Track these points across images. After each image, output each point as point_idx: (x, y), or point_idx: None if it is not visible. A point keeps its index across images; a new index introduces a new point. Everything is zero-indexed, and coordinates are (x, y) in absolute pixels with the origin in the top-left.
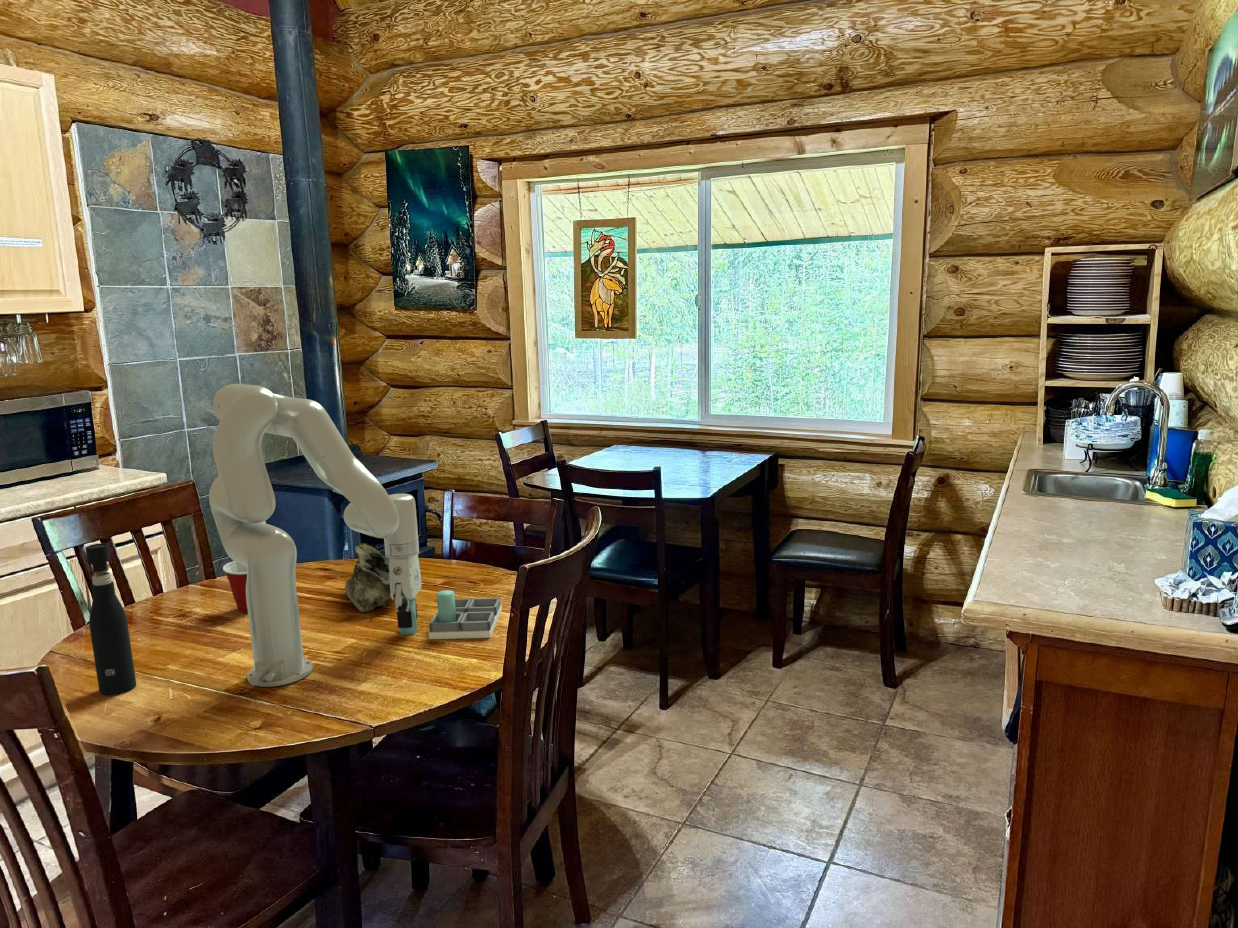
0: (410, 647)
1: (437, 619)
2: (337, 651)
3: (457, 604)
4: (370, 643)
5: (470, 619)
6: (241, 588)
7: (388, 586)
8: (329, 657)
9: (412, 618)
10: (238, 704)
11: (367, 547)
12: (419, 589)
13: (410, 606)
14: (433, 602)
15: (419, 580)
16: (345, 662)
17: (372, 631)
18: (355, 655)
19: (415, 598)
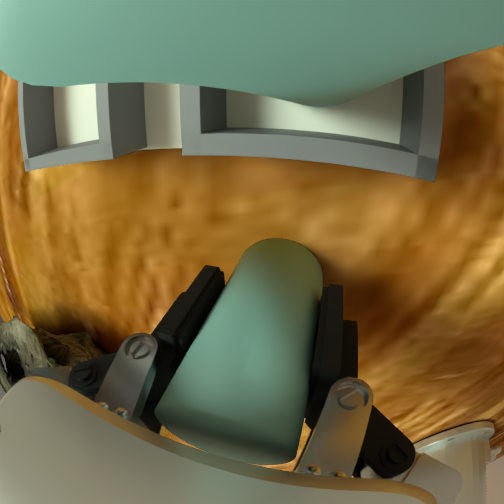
0: (479, 250)
1: (239, 129)
2: (392, 419)
3: (43, 102)
4: (372, 378)
5: None
6: None
7: (47, 352)
8: (420, 421)
9: (301, 309)
10: (500, 437)
11: (2, 378)
12: (91, 421)
13: (293, 393)
14: (34, 219)
15: (27, 471)
16: (470, 394)
17: None
18: (444, 389)
19: (125, 353)
